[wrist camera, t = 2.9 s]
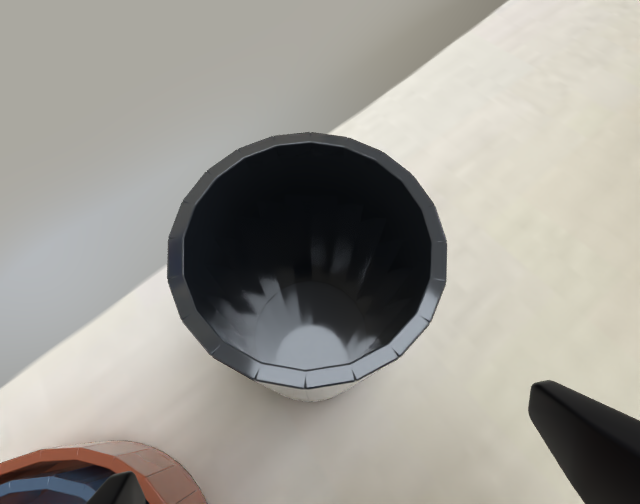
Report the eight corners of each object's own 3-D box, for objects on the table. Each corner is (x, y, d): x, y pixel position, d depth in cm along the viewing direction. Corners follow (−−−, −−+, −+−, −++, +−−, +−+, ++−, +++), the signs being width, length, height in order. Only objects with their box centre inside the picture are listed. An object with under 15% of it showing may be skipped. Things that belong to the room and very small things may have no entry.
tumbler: (338, 426, 18) (380, 453, 7) (226, 362, 19) (105, 296, 8) (390, 310, 21) (482, 191, 9) (287, 260, 22) (261, 100, 11)
